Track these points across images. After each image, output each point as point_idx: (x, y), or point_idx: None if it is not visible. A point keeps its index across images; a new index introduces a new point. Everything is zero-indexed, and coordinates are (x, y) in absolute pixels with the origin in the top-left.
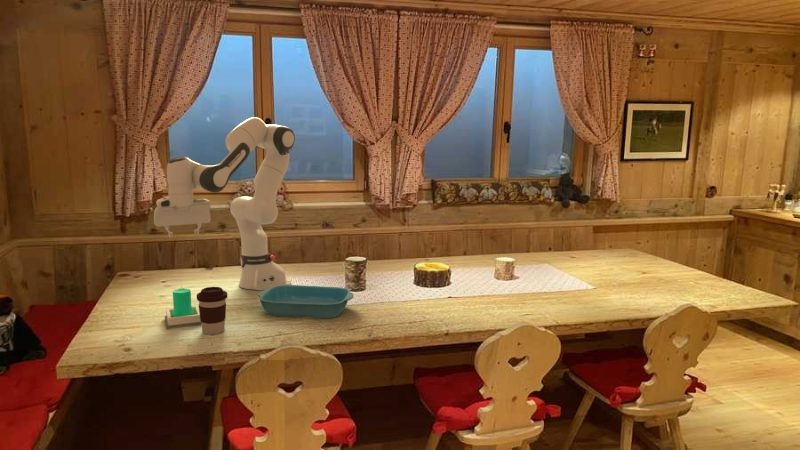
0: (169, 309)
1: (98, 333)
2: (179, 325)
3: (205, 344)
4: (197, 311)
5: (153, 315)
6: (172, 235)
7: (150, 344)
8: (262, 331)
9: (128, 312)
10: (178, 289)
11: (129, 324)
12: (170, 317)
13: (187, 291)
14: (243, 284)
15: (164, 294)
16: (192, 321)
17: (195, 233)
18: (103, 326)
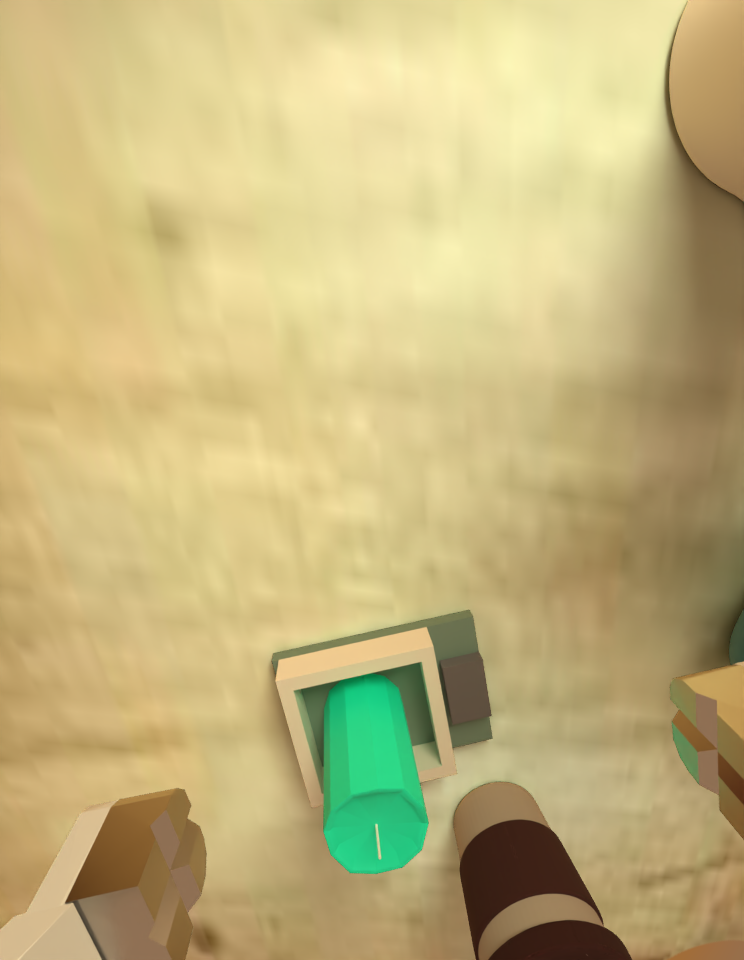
0: (294, 687)
1: (24, 794)
2: None
3: (467, 918)
4: (436, 730)
5: (205, 601)
6: (190, 899)
7: (275, 906)
8: (670, 830)
9: (54, 536)
10: (352, 799)
11: (124, 707)
12: (319, 794)
13: (409, 819)
14: (709, 138)
15: (171, 190)
16: None
17: (709, 785)
18: (8, 718)
